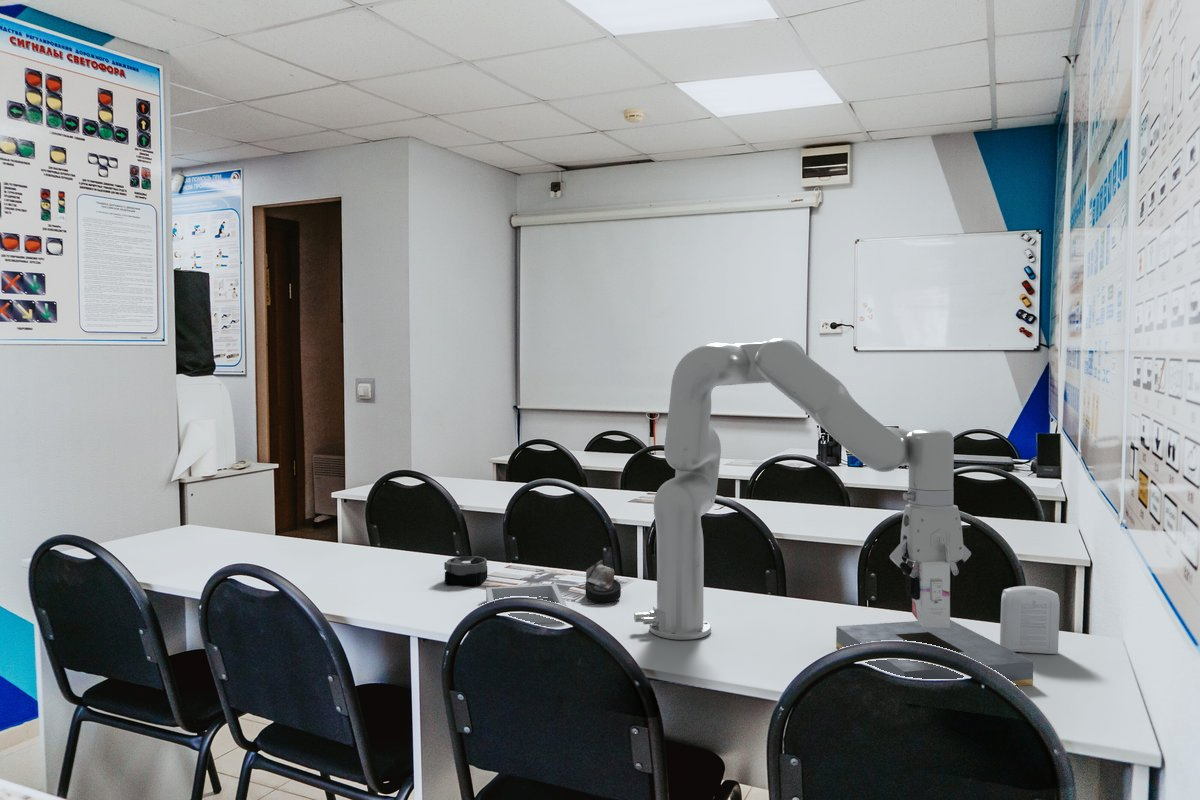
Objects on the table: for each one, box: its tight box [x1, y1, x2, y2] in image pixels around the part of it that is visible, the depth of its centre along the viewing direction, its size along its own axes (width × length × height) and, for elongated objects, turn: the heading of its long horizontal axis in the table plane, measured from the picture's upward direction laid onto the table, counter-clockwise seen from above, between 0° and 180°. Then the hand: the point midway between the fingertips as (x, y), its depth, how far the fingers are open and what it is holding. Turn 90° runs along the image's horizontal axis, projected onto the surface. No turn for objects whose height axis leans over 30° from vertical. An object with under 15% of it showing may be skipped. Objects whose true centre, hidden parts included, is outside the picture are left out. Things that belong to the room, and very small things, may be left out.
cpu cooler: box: [443, 555, 488, 587], centre depth 208 cm, size 10×6×10 cm
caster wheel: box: [584, 559, 622, 605], centre depth 193 cm, size 7×11×10 cm
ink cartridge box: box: [911, 544, 951, 628], centre depth 149 cm, size 9×5×15 cm, turn 172°
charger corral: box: [485, 583, 568, 624], centre depth 183 cm, size 16×19×3 cm
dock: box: [835, 619, 1034, 687], centre depth 149 cm, size 24×24×4 cm
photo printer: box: [999, 585, 1061, 655], centre depth 156 cm, size 10×4×12 cm, turn 81°
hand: (930, 595), depth 149 cm, fingers closed on ink cartridge box, 6 cm apart
